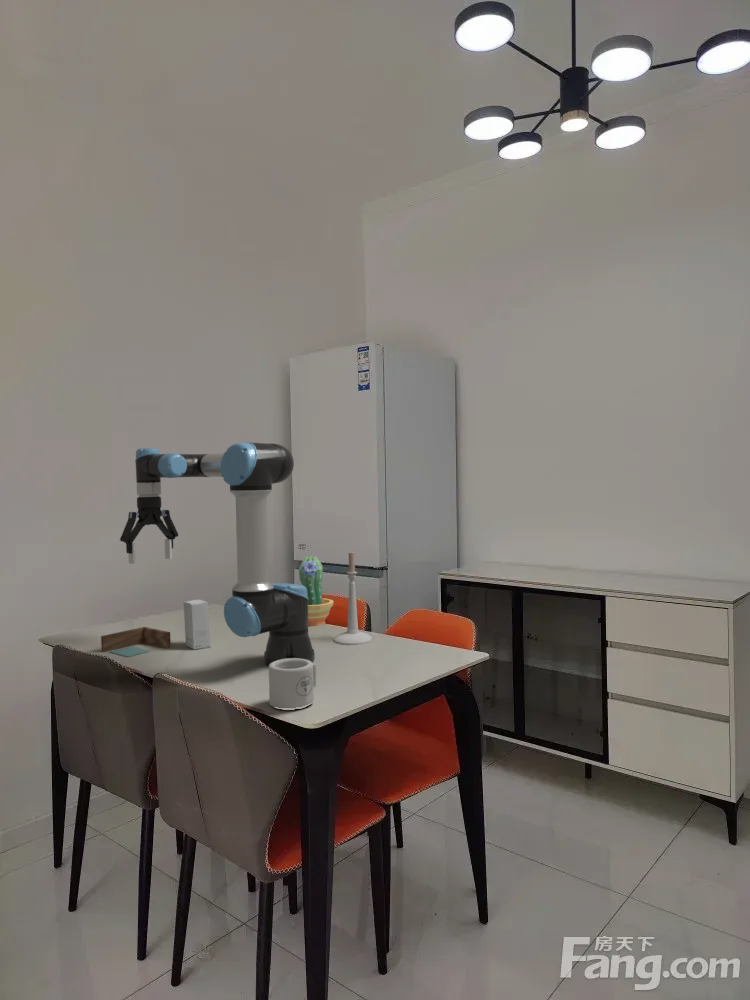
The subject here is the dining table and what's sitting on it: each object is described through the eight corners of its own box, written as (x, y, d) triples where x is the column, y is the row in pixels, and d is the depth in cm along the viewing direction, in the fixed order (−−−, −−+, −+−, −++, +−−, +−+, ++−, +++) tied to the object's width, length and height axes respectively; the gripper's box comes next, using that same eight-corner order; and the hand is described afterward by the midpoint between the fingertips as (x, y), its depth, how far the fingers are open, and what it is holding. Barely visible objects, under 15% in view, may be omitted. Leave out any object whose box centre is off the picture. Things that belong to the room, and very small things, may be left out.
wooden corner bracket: (170, 647, 225) (170, 632, 225) (126, 658, 213) (126, 642, 212) (145, 641, 234) (144, 626, 234) (101, 651, 221) (101, 636, 221)
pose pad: (150, 651, 220) (150, 650, 220) (127, 657, 214) (127, 656, 214) (132, 647, 226) (132, 646, 226) (109, 652, 220) (109, 651, 220)
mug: (289, 714, 161) (288, 672, 161) (260, 705, 168) (259, 664, 168) (331, 700, 171) (330, 660, 171) (301, 691, 179) (300, 652, 178)
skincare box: (210, 647, 224) (209, 601, 224) (192, 650, 221) (191, 604, 220) (201, 642, 231) (200, 598, 231) (184, 645, 228) (182, 600, 227)
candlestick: (329, 637, 235) (328, 549, 234) (365, 634, 239) (364, 548, 238) (339, 646, 223) (337, 554, 222) (377, 643, 227) (375, 551, 226)
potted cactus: (284, 624, 257) (282, 557, 256) (310, 616, 269) (309, 552, 268) (316, 629, 248) (315, 559, 247) (342, 621, 260) (341, 555, 259)
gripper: (174, 494, 237) (175, 556, 238) (107, 497, 217) (109, 564, 218) (187, 494, 233) (189, 557, 233) (120, 497, 213) (122, 566, 214)
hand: (150, 561), depth 226 cm, fingers open, 13 cm apart
